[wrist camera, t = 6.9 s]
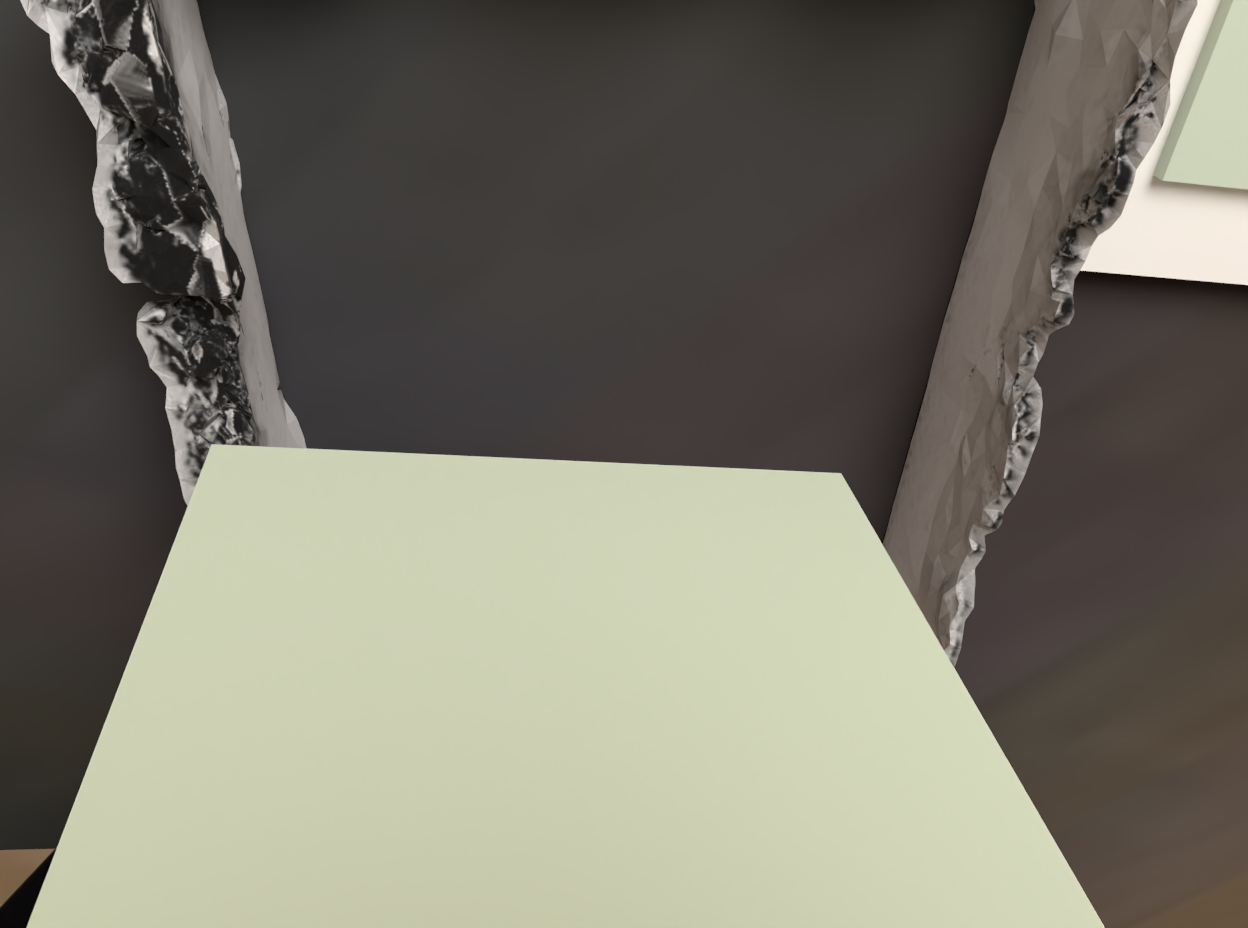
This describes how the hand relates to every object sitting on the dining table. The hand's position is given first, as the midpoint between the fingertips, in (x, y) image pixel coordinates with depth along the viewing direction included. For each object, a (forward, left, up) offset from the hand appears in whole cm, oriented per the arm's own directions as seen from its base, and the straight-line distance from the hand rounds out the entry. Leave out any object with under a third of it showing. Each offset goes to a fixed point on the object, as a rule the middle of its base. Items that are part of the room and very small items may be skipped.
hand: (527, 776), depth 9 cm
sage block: (0, 0, -1) cm, 1 cm away
